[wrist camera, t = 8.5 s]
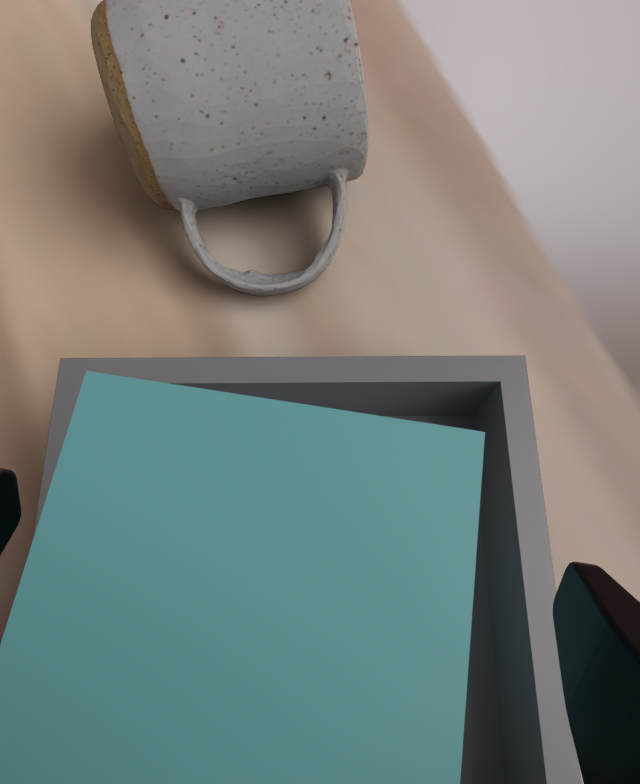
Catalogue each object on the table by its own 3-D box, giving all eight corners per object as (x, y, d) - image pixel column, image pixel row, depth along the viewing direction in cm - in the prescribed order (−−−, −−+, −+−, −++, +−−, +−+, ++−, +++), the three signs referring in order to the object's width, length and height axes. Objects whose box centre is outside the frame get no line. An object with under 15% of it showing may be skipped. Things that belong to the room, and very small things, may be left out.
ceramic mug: (134, 114, 25) (58, -77, 18) (317, 74, 26) (316, -126, 18) (184, 331, 22) (116, 207, 15) (390, 279, 23) (425, 135, 15)
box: (536, 857, 16) (601, 937, 13) (52, 860, 16) (-29, 941, 13) (488, 398, 21) (525, 355, 17) (107, 400, 21) (60, 358, 17)
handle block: (357, 692, 17) (448, 944, 5) (208, 666, 17) (-62, 841, 5) (376, 538, 19) (485, 431, 6) (239, 515, 19) (85, 370, 7)
